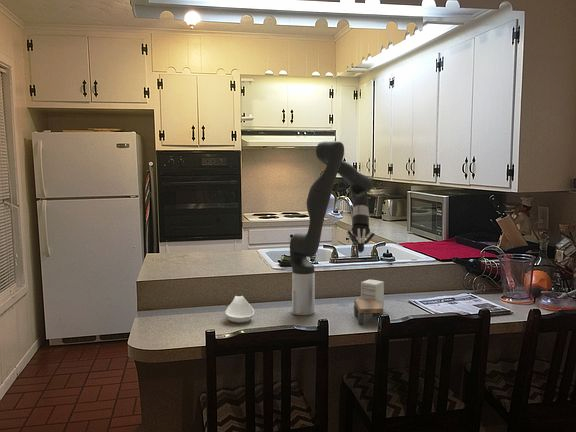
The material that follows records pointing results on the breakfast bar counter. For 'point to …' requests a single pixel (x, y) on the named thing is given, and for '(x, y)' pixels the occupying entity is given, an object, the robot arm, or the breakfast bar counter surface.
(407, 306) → the breakfast bar counter surface
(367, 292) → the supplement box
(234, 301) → the white conical piece
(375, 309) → the brown block with legs
